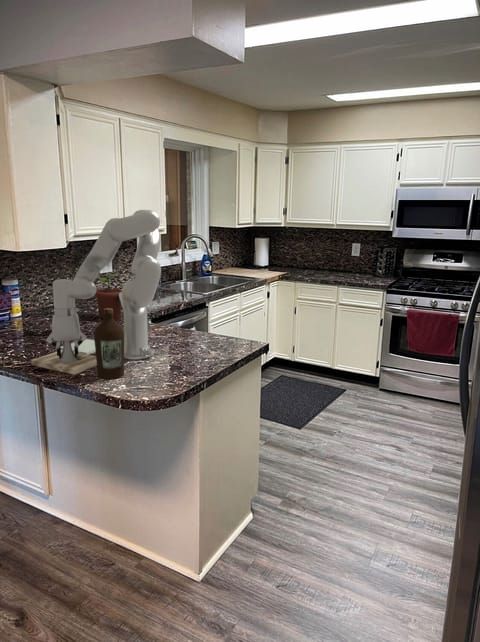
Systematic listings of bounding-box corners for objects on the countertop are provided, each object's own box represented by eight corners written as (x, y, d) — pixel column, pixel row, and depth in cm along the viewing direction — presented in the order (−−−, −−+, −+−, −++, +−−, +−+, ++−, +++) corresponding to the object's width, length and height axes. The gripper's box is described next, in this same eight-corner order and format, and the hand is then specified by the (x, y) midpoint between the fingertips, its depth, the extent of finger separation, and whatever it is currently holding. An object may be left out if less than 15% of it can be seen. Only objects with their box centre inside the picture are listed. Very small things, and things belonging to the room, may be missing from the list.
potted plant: (123, 314, 268) (122, 272, 262) (133, 322, 249) (131, 277, 244) (92, 317, 260) (90, 273, 255) (99, 325, 242) (97, 278, 236)
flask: (71, 359, 186) (70, 336, 184) (81, 363, 182) (80, 339, 179) (55, 364, 180) (53, 339, 178) (65, 368, 176) (63, 343, 174)
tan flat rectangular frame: (104, 362, 183) (104, 357, 183) (74, 374, 169) (73, 369, 169) (63, 354, 193) (63, 349, 192) (31, 365, 178) (31, 360, 178)
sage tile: (112, 345, 206) (112, 343, 206) (86, 355, 192) (86, 352, 192) (85, 340, 213) (85, 338, 213) (58, 349, 199) (58, 347, 199)
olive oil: (94, 372, 172) (91, 307, 167) (123, 369, 177) (120, 305, 171) (97, 381, 163) (94, 313, 157) (128, 378, 167) (125, 311, 161)
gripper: (88, 308, 182) (90, 352, 187) (41, 310, 177) (45, 355, 181) (88, 312, 176) (91, 358, 180) (40, 314, 170) (43, 361, 174)
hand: (68, 356), depth 180 cm, fingers closed on flask, 5 cm apart
